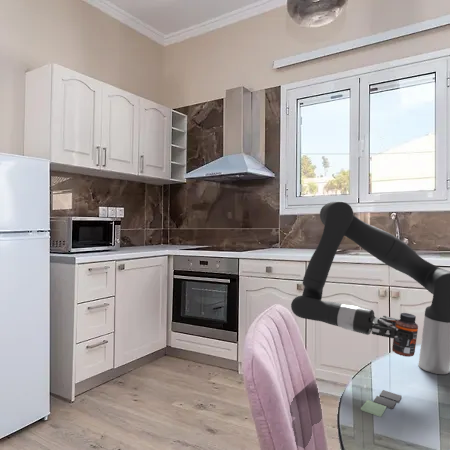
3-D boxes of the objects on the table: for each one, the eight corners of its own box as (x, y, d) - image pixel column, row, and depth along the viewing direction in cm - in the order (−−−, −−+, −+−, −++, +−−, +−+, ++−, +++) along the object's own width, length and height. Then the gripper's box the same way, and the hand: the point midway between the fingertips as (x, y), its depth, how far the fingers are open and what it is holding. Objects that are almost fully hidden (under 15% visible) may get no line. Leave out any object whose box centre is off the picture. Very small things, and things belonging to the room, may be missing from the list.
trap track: (375, 388, 119) (375, 387, 119) (401, 397, 115) (401, 395, 115) (360, 410, 106) (360, 408, 106) (389, 420, 102) (389, 418, 102)
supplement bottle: (412, 359, 114) (418, 319, 113) (390, 353, 117) (395, 314, 116) (415, 353, 119) (420, 315, 118) (393, 347, 122) (398, 310, 121)
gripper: (349, 311, 119) (412, 326, 110) (363, 302, 131) (421, 315, 122) (347, 336, 120) (409, 353, 111) (360, 325, 132) (417, 339, 123)
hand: (415, 333), depth 116 cm, fingers closed on supplement bottle, 6 cm apart
